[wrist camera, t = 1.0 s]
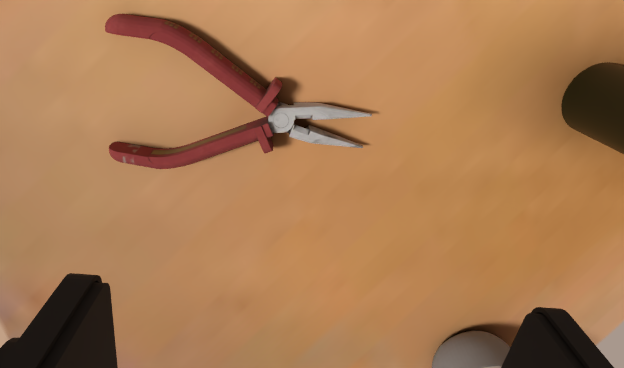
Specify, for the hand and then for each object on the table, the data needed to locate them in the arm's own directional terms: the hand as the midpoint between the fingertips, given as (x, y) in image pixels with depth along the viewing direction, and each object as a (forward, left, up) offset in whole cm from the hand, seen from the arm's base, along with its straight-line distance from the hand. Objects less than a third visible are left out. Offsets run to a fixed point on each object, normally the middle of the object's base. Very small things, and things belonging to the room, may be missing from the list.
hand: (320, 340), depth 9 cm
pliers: (+6, +1, -27) cm, 27 cm away
